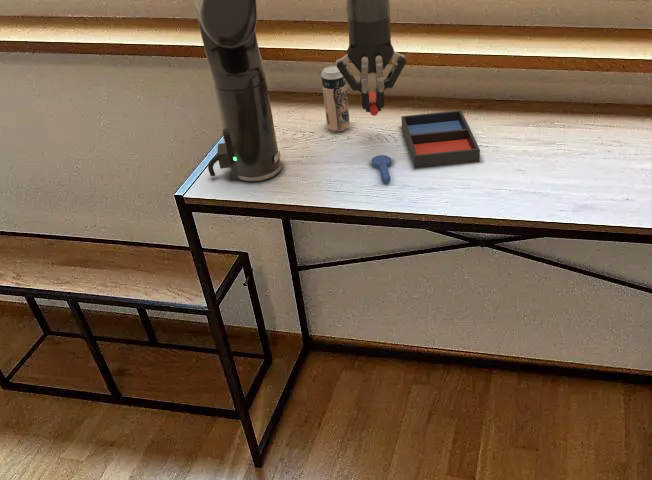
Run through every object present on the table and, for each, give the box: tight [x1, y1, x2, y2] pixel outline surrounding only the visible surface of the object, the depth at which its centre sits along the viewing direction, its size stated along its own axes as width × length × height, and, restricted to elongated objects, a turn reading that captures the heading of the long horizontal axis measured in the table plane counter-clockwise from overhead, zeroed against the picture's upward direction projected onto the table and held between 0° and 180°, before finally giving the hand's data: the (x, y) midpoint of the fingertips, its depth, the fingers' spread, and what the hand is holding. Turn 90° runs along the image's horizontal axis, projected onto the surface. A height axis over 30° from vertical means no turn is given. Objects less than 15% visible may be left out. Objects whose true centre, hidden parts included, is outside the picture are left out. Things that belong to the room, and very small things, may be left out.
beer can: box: [320, 65, 351, 132], centre depth 144 cm, size 5×5×12 cm
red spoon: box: [368, 91, 379, 117], centre depth 137 cm, size 10×4×2 cm, turn 8°
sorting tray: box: [400, 109, 481, 169], centre depth 140 cm, size 13×18×2 cm
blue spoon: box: [371, 154, 392, 184], centre depth 134 cm, size 10×4×2 cm, turn 8°
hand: (373, 109), depth 135 cm, fingers closed on red spoon, 1 cm apart
